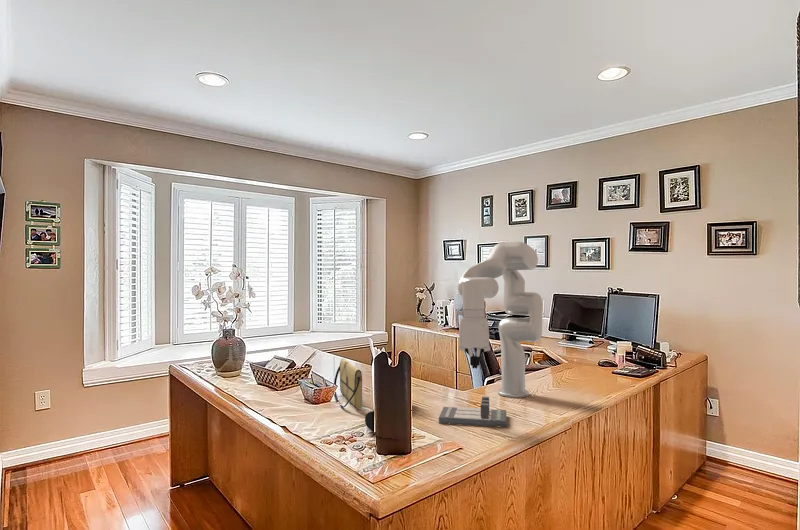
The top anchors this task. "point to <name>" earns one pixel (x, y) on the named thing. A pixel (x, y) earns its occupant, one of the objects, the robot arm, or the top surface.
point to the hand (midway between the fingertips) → (475, 367)
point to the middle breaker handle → (487, 403)
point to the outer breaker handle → (484, 410)
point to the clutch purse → (350, 383)
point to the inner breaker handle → (485, 398)
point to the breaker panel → (472, 416)
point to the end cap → (370, 420)
